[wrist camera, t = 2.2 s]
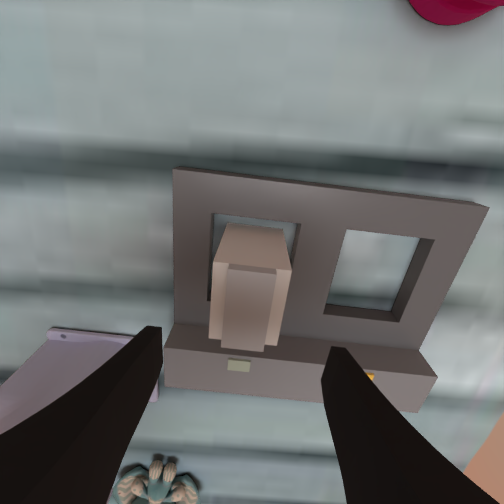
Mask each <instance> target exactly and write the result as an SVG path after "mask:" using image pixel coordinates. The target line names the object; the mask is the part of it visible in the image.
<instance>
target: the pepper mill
mask: <svg viewBox="0 0 504 504" xmlns="http://www.w3.org/2000/svg"><path fill="white" fill-rule="evenodd" d="M409 1H410V3H411V4H412V6H413V7H414V8H415V10H416V11H417V12H418V13H419V14H420V15H421V16H422V17H424V18H425V19H427V20H429V21H431V22H434V23H436V24H442V25H456V24H461V23H464V22H467V21H470V20H472V19H475V18H477V17H479V16H481V15H483V14H485V13H487V12H488V11H490V10H492V9H494V8H496V7H498V6H504V0H409Z"/></svg>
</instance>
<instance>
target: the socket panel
mask: <svg viewBox="0 0 504 504" xmlns="http://www.w3.org/2000/svg"><path fill="white" fill-rule="evenodd" d="M489 208H490V207H487V206H484V205H481V204H477V203H474V202H468V201H460V200H451V199H443V198H435V197H427V196H419V195H410V194H402V193H394V192H386V191H378V190H369V189H361V188H353V187H345V186H336V185H328V184H320V183H312V182H304V181H295V180H287V179H279V178H271V177H263V176H254V175H246V174H238V173H230V172H222V171H213V170H205V169H197V168H189V167H180V166H179V167H176V168H174V169H173V252H174V325H173V327H172V330H171V332H170V334H169V336H168V339H167V341H166V343H165V345H164V347H163V349H164V379H165V386H166V387H175V388H185V389H194V390H204V391H213V392H223V393H232V394H242V395H251V396H261V397H270V398H280V399H289V400H299V401H308V402H318V403H324V402H323V395H322V387H321V377H322V374H323V371H324V367H325V364H326V361H327V358H328V355H329V352H330V348H331V346H336V347H345V348H346V349H347V350H348V351H349V353H350V354H351V355H352V356H353V358H354V359H355V360H356V361H357V363H358V364H359V365H360V366H361V368H362V369H363V370H364V372H365V373H366V374H367V375H368V377H369V378H370V379H371V380H372V381H373V383H374V384H375V385H376V386H377V387H378V389H379V390H380V391H381V392H382V393H383V395H384V396H385V397H386V398H387V399H388V400H389V401H390V403H391V404H392V405H393V406H394V407H395V408H396V409H397V410H398V411H404V412H413V413H418V411H419V410H420V408H421V406H422V404H423V403H424V401H425V399H426V397H427V396H428V394H429V392H430V390H431V389H432V387H433V385H434V383H435V382H436V380H437V378H438V376H437V375H436V374H435V372H434V371H433V370H432V368H431V367H430V365H429V364H428V363H427V361H426V360H425V358H424V357H423V356H422V354H421V353H420V352H419V349H420V347H421V345H422V343H423V341H424V339H425V337H426V335H427V333H428V331H429V329H430V326H431V324H432V322H433V320H434V318H435V316H436V314H437V312H438V310H439V308H440V306H441V304H442V302H443V300H444V298H445V296H446V294H447V292H448V290H449V288H450V286H451V284H452V282H453V280H454V278H455V276H456V274H457V272H458V270H459V268H460V266H461V264H462V262H463V260H464V258H465V256H466V254H467V252H468V250H469V248H470V246H471V244H472V242H473V240H474V238H475V236H476V234H477V232H478V230H479V228H480V226H481V224H482V222H483V220H484V218H485V216H486V214H487V212H488V210H489ZM214 213H215V214H224V215H232V216H240V217H249V218H257V219H266V220H274V221H283V222H291V223H298V224H297V230H296V235H295V240H294V245H293V250H292V255H291V260H290V264H291V269H292V273H291V278H290V283H289V288H288V293H287V298H286V303H285V308H284V313H283V318H282V323H281V328H280V333H279V338H278V342H277V346H274V345H264V351H263V352H258V351H249V350H240V349H231V348H222V347H221V340H220V339H211V338H209V322H210V305H211V291H210V279H211V261H212V243H213V225H214ZM346 229H350V230H359V231H367V232H375V233H384V234H392V235H401V236H409V237H418V238H421V239H420V242H419V244H418V247H417V249H416V252H415V254H414V256H413V259H412V261H411V264H410V266H409V269H408V271H407V274H406V276H405V278H404V281H403V283H402V286H401V288H400V291H399V293H398V296H397V298H396V301H395V303H394V305H393V308H392V310H391V312H390V311H381V310H372V309H363V308H355V307H346V306H337V305H328V304H326V301H327V297H328V294H329V290H330V286H331V283H332V279H333V276H334V272H335V268H336V265H337V261H338V258H339V254H340V250H341V247H342V243H343V240H344V236H345V232H346Z"/></svg>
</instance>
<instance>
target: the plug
mask: <svg viewBox="0 0 504 504" xmlns="http://www.w3.org/2000/svg"><path fill="white" fill-rule="evenodd" d="M291 273H292V269H291V264H290V260H289V255H288V251H287V246H286V242H285V238H284V233H283V229H279V228H271V227H262V226H254V225H245V224H237V223H229V222H228V223H227V226H226V228H225V231H224V234H223V236H222V239H221V242H220V244H219V247H218V250H217V252H216V255H215V258H214V261H213V272H212V289H211V305H210V322H209V338H211V339H220V340H221V347H222V348H231V349H240V350H249V351H258V352H263V351H264V345H274V346H277V342H278V338H279V333H280V328H281V323H282V318H283V313H284V308H285V303H286V298H287V293H288V288H289V283H290V278H291Z"/></svg>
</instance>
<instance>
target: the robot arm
mask: <svg viewBox="0 0 504 504" xmlns="http://www.w3.org/2000/svg"><path fill="white" fill-rule="evenodd" d="M47 338H48V340H47V341H46V342H45V343H44V344H43V345H42V346H41V347H40V348H39V349H38V350H37V351H36V352H35V353H34V354H33V355H32V356H31V357H30V358H29V359H28V360H27V361H26V362H25V363H24V364H23V365H22V366H21V367H20V368H19V369H18V370H17V371H16V372H15V373H13V374H12V375H11V376H10V377H9V378H8V379H7V380H6V381H5V382H4V383H3V384H2V385H1V386H0V504H108V502H109V499H110V497H111V494H112V492H113V489H112V486H113V484H114V481H115V478H116V475H117V473H118V470H119V467H120V465H121V462H122V459H123V457H124V454H125V452H126V450H127V447H128V445H129V443H130V440H131V438H132V436H133V434H134V432H135V430H136V427H137V425H138V423H139V421H140V419H141V417H142V415H143V412H144V410H145V408H146V406H147V404H148V402H156V401H157V400H158V397H159V393H158V377H159V374H160V371H161V368H162V364H163V350H162V327H155V326H146V327H145V328H144V329H142V330H141V331H140V332H139V333H138V334H137V335H136V336H135V337H131V336H122V335H112V334H103V333H94V332H85V331H75V330H66V329H57V328H51V329H49V330H48V331H47ZM321 387H322V395H323V402H324V407H325V411H326V415H327V419H328V423H329V427H330V431H331V435H332V439H333V442H334V446H335V450H336V454H337V458H338V462H339V466H340V470H341V474H342V479H343V484H344V490H345V495H346V501H347V504H499V503H498V502H497V501H496V500H495V499H493V498H492V497H491V496H490V495H488V494H487V493H486V492H484V491H483V490H482V489H481V488H480V487H479V486H477V485H476V484H475V483H474V482H473V481H471V480H470V479H469V478H468V477H467V476H465V475H464V474H463V473H462V472H461V471H460V470H459V469H458V468H456V467H455V466H454V465H453V464H452V463H451V462H450V461H448V460H447V459H446V458H445V457H444V456H443V455H442V454H441V453H440V452H439V451H437V450H436V449H435V448H434V447H433V446H432V445H431V444H430V443H429V442H428V441H427V440H426V439H425V438H424V437H423V436H422V435H421V434H420V433H419V432H418V431H417V430H416V429H415V428H414V427H413V426H412V425H411V424H410V423H409V422H408V421H407V420H406V419H405V418H404V417H403V416H402V415H401V414H400V412H399V411H398V410H397V409H396V408H395V407H394V406H393V405H392V404H391V403H390V401H389V400H388V399H387V398H386V397H385V396H384V395H383V393H382V392H381V391H380V390H379V389H378V387H377V386H376V385H375V384H374V383H373V381H372V380H371V379H370V378H369V377H368V375H367V374H366V373H365V372H364V370H363V369H362V368H361V366H360V365H359V364H358V363H357V361H356V360H355V359H354V358H353V356H352V355H351V354H350V353H349V351H348V350H347V349H346V348H345V347H336V346H331V348H330V352H329V355H328V358H327V361H326V364H325V367H324V371H323V374H322V377H321Z"/></svg>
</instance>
